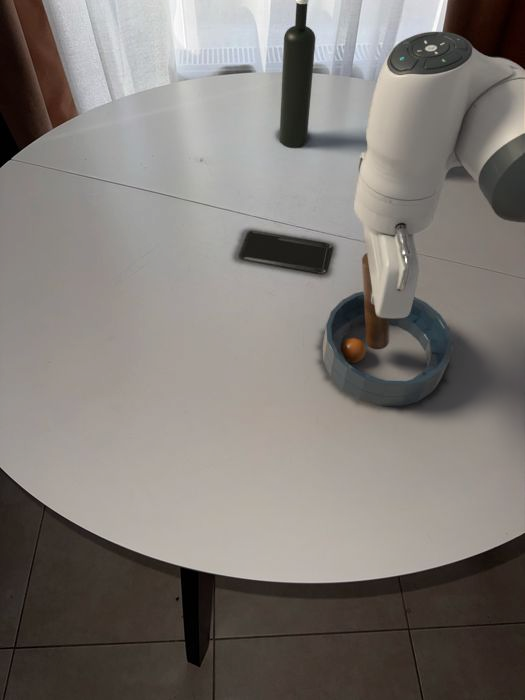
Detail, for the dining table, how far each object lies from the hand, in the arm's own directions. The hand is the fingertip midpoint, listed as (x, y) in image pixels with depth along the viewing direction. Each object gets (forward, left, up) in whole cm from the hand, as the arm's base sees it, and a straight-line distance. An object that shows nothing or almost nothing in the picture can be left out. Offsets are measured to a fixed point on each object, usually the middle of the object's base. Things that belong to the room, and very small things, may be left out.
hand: (375, 287), depth 74 cm
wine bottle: (+9, -58, -15) cm, 60 cm away
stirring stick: (-2, 0, -11) cm, 11 cm away
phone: (+11, -22, -15) cm, 29 cm away
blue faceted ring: (-3, 0, -15) cm, 15 cm away
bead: (+1, 0, -13) cm, 13 cm away
